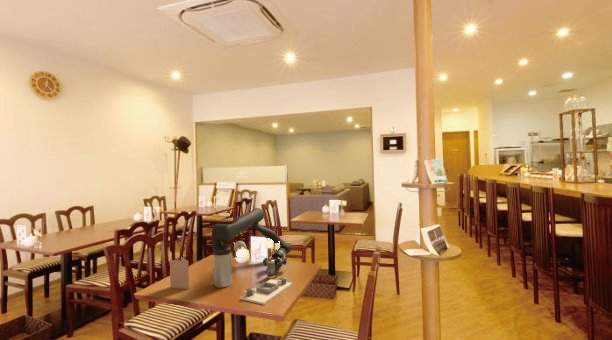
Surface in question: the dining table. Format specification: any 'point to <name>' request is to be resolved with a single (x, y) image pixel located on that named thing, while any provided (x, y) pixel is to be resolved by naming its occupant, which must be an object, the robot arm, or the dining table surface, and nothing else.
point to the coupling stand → (266, 291)
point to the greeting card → (179, 273)
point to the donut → (239, 245)
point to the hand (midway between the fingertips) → (272, 265)
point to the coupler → (271, 268)
